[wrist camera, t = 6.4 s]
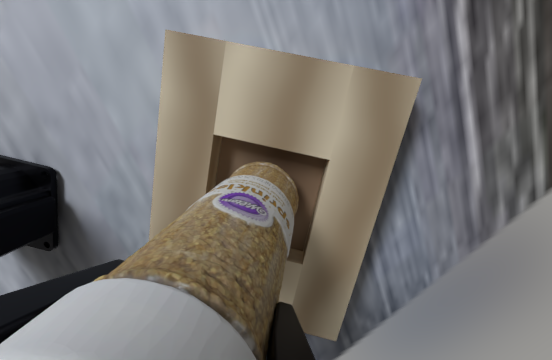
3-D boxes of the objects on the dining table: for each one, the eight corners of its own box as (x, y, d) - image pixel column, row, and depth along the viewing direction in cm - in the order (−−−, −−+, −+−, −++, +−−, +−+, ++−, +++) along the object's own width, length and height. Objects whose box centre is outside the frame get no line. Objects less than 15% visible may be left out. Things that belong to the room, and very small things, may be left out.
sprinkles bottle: (303, 164, 15) (256, 432, 3) (294, 236, 17) (232, 668, 4) (226, 155, 16) (-140, 342, 3) (223, 226, 17) (-52, 578, 4)
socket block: (161, 272, 20) (145, 289, 18) (183, 39, 16) (165, 29, 14) (333, 318, 19) (336, 341, 17) (407, 83, 15) (422, 78, 13)
